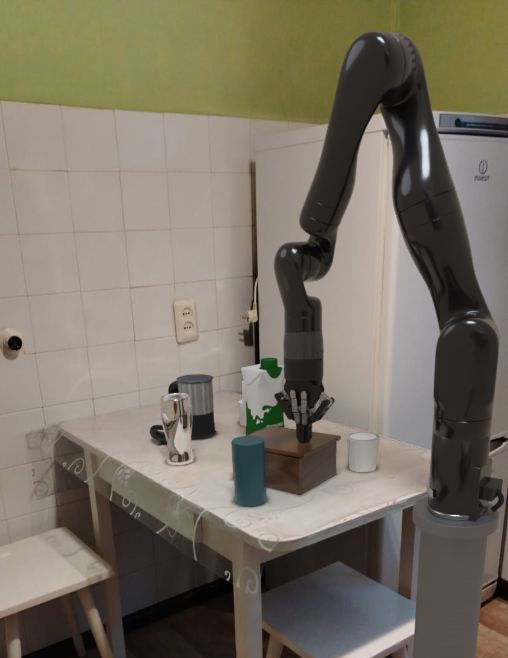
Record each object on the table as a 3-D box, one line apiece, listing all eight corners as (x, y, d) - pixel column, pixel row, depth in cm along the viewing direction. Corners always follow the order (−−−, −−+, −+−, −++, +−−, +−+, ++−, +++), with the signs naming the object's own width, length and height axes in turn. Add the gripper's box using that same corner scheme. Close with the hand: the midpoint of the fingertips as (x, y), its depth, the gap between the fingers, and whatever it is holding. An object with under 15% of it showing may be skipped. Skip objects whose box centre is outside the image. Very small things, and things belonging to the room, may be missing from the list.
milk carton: (264, 447, 152) (261, 363, 145) (239, 439, 159) (236, 358, 152) (290, 439, 157) (289, 357, 150) (266, 432, 164) (263, 353, 157)
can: (272, 498, 122) (270, 438, 118) (253, 509, 118) (251, 447, 114) (248, 492, 126) (245, 433, 122) (228, 502, 122) (225, 442, 117)
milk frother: (222, 431, 167) (219, 374, 162) (194, 449, 154) (189, 388, 148) (175, 427, 173) (170, 372, 167) (143, 444, 159) (137, 385, 154)
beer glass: (188, 467, 142) (183, 400, 136) (160, 464, 144) (153, 399, 139) (200, 456, 148) (195, 393, 142) (172, 455, 150) (167, 392, 145)
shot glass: (339, 466, 137) (339, 435, 135) (365, 460, 140) (366, 429, 138) (359, 475, 132) (359, 443, 129) (385, 469, 134) (386, 437, 132)
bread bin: (336, 474, 133) (336, 440, 130) (300, 495, 123) (299, 459, 121) (271, 460, 143) (270, 429, 140) (233, 479, 133) (231, 445, 131)
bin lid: (340, 439, 130) (340, 435, 129) (304, 458, 120) (303, 454, 120) (270, 428, 140) (270, 425, 140) (231, 445, 131) (231, 441, 130)
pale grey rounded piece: (262, 428, 167) (261, 383, 163) (233, 425, 171) (231, 380, 167) (279, 420, 174) (278, 376, 170) (250, 416, 178) (248, 374, 174)
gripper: (263, 354, 122) (266, 441, 128) (322, 360, 114) (322, 452, 121) (285, 348, 128) (287, 432, 134) (344, 353, 120) (343, 441, 126)
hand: (304, 441), depth 127 cm, fingers closed
